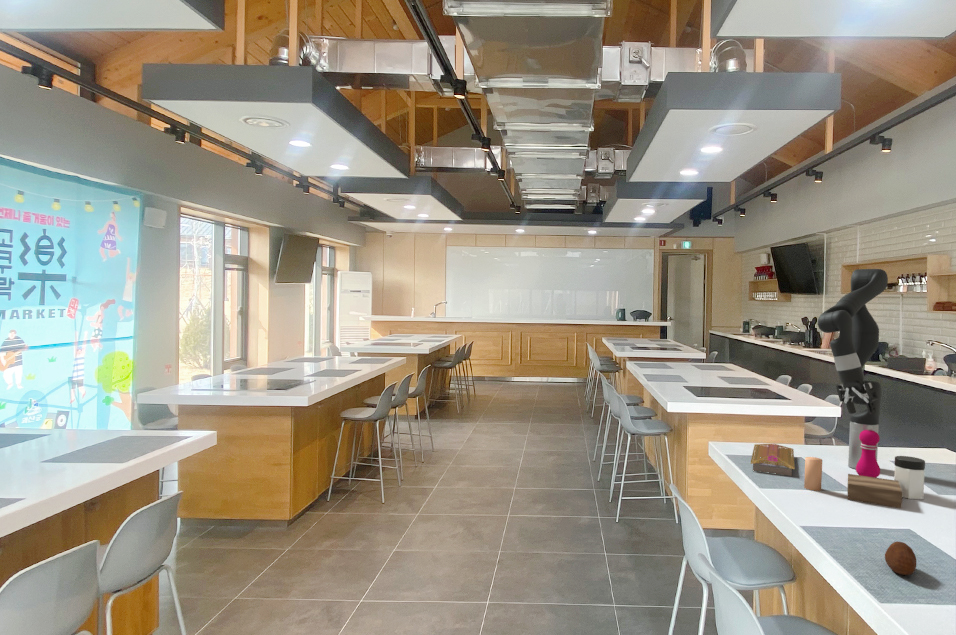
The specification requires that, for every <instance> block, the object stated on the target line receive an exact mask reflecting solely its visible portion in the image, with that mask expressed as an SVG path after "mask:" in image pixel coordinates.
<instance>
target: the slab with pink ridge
mask: <svg viewBox="0 0 956 635" xmlns="http://www.w3.org/2000/svg"><path fill="white" fill-rule="evenodd" d="M794 450H795V449H794V448H791V447H788V446H784V445H781V444H776V443H758V444H757V443H755V444H754V445H753V449H752V454H751V458H750V464H751V465H752V471H753V470H754V471H761V472H769V473H776V474H782V475H781V476H784V475H789V476H788V477H791V476H793V475H792V471H793V470H795V455H794V454H795V453H794ZM760 457H761V458H760ZM754 471H753V472H754ZM761 472H760V473H761ZM769 473H768V474H769ZM776 474H775V475H776Z"/></svg>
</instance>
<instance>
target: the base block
mask: <svg viewBox="0 0 956 635" xmlns="http://www.w3.org/2000/svg"><path fill="white" fill-rule="evenodd" d="M846 487H847V490H846V491H847V501H855V502H861V503H866V504H867V503H868V504H873V505H880V506H886V507H891V508H892V507H893V508H899V509H902V501H903V497H902V490H901V487H900V484H899V481H896V480H894V479H887V478H883V477H882V478H881V477H877V478H875V477H867V476H860V475H859V474H852V473H847V486H846Z"/></svg>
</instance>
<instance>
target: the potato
mask: <svg viewBox="0 0 956 635" xmlns="http://www.w3.org/2000/svg"><path fill="white" fill-rule="evenodd" d="M884 560H885V562H886V565H887V566H888V567H889V568H890V569H891V571H893V572H894V573H896V574H898V575H902V576H910V575H913V574H914V573H915V571H916V568H917V557H916V554H915V552H914V550H913V548H911V547H910V546H909V545H908V544H907V543H905V542H903V541H894V542H892V543H891V544H889V547H888V548H887V549H886V551H885V553H884Z"/></svg>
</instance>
